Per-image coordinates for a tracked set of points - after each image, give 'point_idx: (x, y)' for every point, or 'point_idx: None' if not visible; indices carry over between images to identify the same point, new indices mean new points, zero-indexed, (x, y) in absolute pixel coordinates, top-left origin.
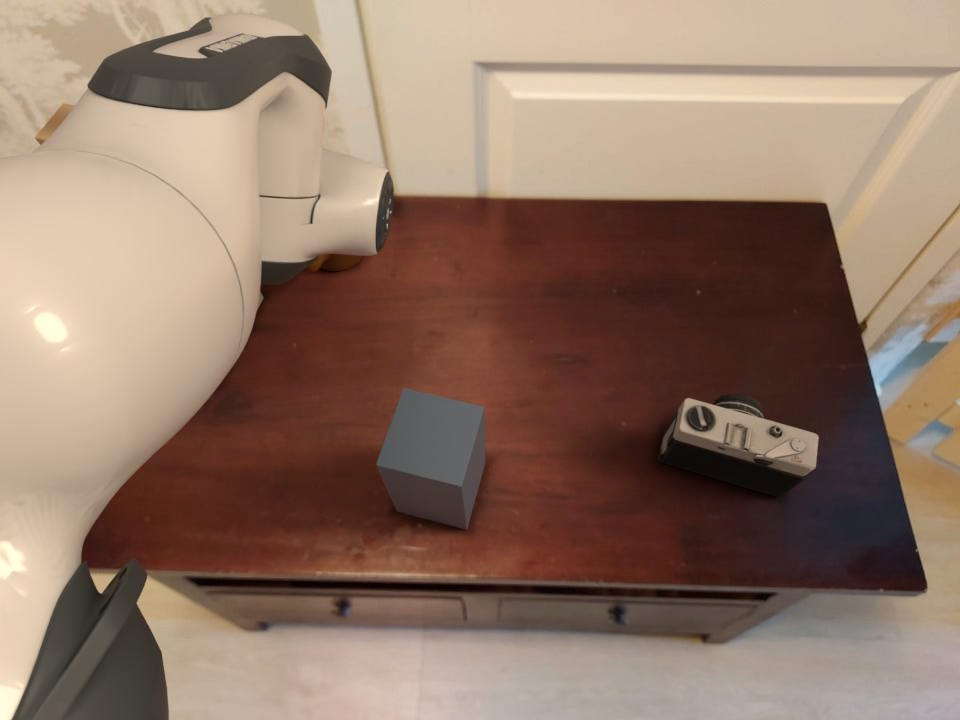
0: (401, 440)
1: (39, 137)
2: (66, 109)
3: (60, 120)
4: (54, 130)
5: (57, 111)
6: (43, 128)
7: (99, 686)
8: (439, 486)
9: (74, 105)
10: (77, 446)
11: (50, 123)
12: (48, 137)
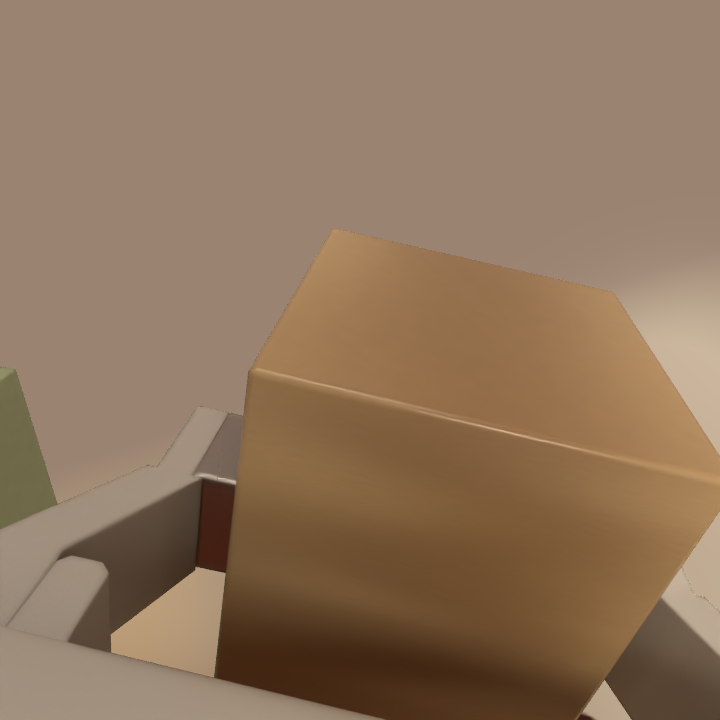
0: None
1: (336, 237)
2: (582, 301)
3: (488, 285)
4: (400, 269)
5: (546, 278)
6: (406, 246)
7: None
8: None
9: (634, 325)
10: None
11: (451, 262)
12: (337, 254)
